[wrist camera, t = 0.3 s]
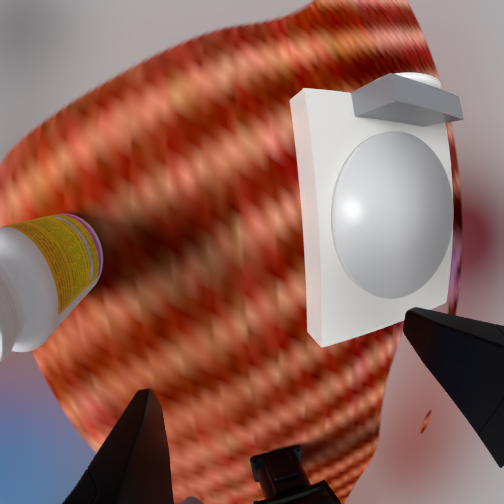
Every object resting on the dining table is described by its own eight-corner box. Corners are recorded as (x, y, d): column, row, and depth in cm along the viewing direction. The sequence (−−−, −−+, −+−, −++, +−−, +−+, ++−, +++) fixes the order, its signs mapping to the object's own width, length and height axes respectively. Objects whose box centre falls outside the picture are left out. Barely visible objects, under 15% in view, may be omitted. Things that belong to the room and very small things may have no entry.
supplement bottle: (63, 195, 18) (-52, 204, 5) (121, 250, 19) (43, 323, 7) (25, 258, 18) (-75, 314, 5) (78, 310, 19) (6, 408, 7)
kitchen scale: (428, 294, 27) (482, 319, 19) (307, 331, 24) (354, 384, 16) (423, 109, 23) (482, 96, 15) (288, 90, 20) (338, 45, 12)
